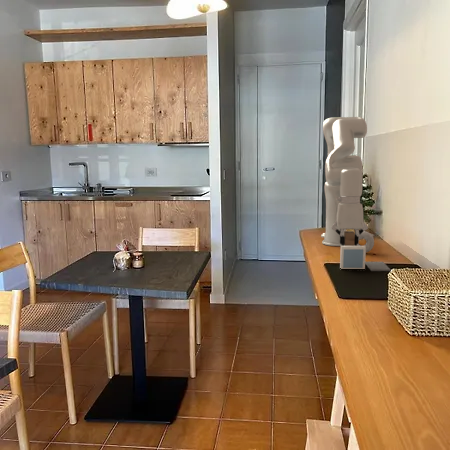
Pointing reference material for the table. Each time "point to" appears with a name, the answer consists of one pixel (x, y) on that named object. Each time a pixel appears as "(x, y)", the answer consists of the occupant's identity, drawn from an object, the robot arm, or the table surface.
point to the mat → (377, 266)
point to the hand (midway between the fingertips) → (348, 245)
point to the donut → (367, 240)
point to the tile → (352, 257)
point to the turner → (349, 238)
